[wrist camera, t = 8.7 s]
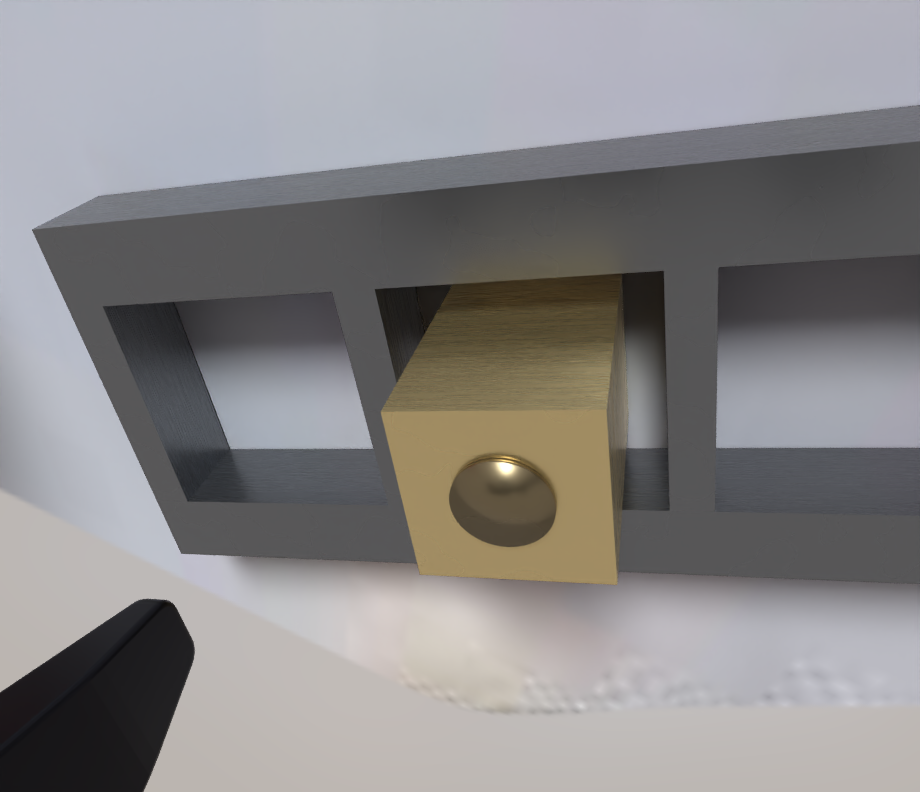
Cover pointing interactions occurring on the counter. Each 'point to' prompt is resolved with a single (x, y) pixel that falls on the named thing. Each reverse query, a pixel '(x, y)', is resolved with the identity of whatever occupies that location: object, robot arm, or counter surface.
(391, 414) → the brass block
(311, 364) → the counter surface
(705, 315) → the tray
